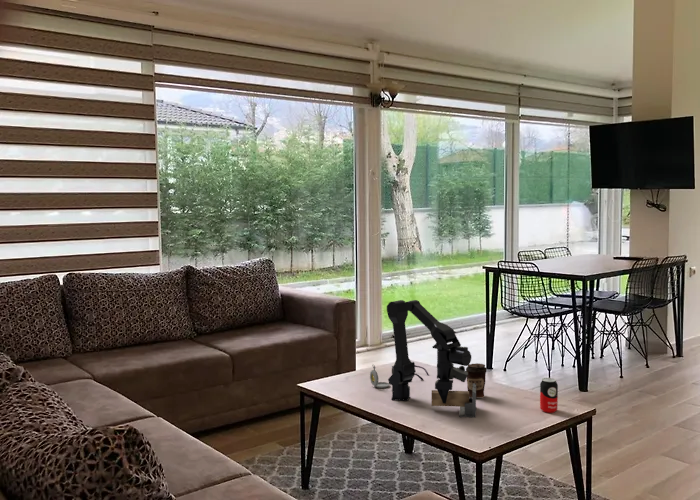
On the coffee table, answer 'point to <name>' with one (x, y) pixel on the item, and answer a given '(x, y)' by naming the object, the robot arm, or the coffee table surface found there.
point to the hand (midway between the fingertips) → (444, 401)
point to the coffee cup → (476, 379)
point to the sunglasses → (416, 374)
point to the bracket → (469, 405)
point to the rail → (451, 398)
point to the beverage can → (548, 395)
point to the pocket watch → (375, 380)
